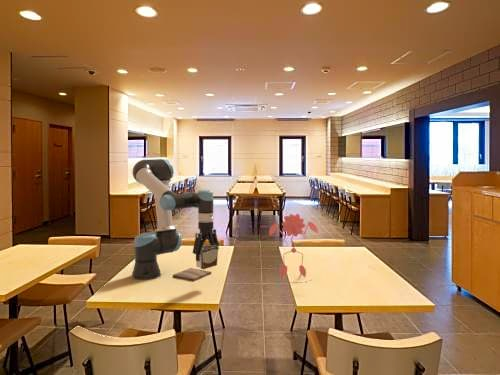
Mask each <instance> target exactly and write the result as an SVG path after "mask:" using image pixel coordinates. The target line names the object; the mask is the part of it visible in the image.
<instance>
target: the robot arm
mask: <svg viewBox="0 0 500 375" xmlns="http://www.w3.org/2000/svg"><path fill="white" fill-rule="evenodd" d="M131 172H132V173H131V174H132V177H133V179H134V180H135V182H137V183H139V184H140V185H143V186H144V187H145V188H146V189H147V190H148V191H149V192H150V193H152V194H153V195H154V197H153V198H154V205H155V214H156V220H157V221H156V222H157V228H156V230H155V232H154V231H149V232H147V231H146V232H142V233H139V234H137V235H136V236H135V237H134V241H133V242H134V243H133V245H134V246H133V247H134V265H133V266H134V267H133V270H132V274H131V277H132V279H135V280H150V279H154V278H158V277H159V276H161V269H160V266H159V264H158V260H157V257H158V256H159V255H164V254H169V253H170V254H171V253H173V252H177V251H178V250H180V249H181V247H182V240H183V239H182V235H181V233H180V231H178V230H177V228H176V227H175V226H174V223H173V222H174V221H173V214H172V211H173V210H182V209H190V208H192V209H193V208H195V209H197V218H198V219H197V220H198V223H197V224H198V227H197V228H198V229H199V232H198V233H197V232H196V233H195V236H194V238H195V239H194V244H193V247H192V248H193V249H192V254H194V255H195V263H196V265H195V267H196V268H199V269H201V267H202V258H201V254H200V251H201V250H202V247H203V246H205V243H206V241H208V244H209V245H217V246H218V247H219V246H220V245H219V244H220V243H219V240H218V235H217V229H215V228H214V192H213V190H210V189H201V190H200V189H199V190H198V191H197V192H194V191H187V192H185V193H175V192H174V191H173V190H172V189H170V188H169V185H170V184H171V179H173V177H174V174H175V172H174V166H173V164H172V163H171V162H170V161H169V160H168V159H162V158H154V159H142V160H138V161H137V162H136V163H135V164H134V166H133V168H132V171H131ZM219 248H220V247H219ZM198 251H199V252H198Z"/></svg>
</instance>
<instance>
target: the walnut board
mask: <svg viewBox="0 0 500 375" xmlns="http://www.w3.org/2000/svg"><path fill="white" fill-rule="evenodd" d="M210 275H212V271H211V270H210V271H209V270H205V269H200V268H199V269H198V268H193V267H190V268H187V269H185V270H182V271H180V272H176V273H174V274H172V277H173V278H176V279H181V280H184V281H186V280H187V281H192V282H195V281H198V280H200V279H203V278H205V277H207V276H210Z"/></svg>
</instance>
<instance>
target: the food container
mask: <svg viewBox="0 0 500 375" xmlns="http://www.w3.org/2000/svg"><path fill="white" fill-rule="evenodd" d="M219 250H220V247H218V246H217V245H210V244H206V245H205V244H204V245H203V247H202V250H201V251H200V254H201V258H202V267H201V268H200V270H206V269H207V270H208V269H210V268H212V267H216V266H218V258H219V256H218V255H219V254H218V253H219ZM198 252H199V251H198Z"/></svg>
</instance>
